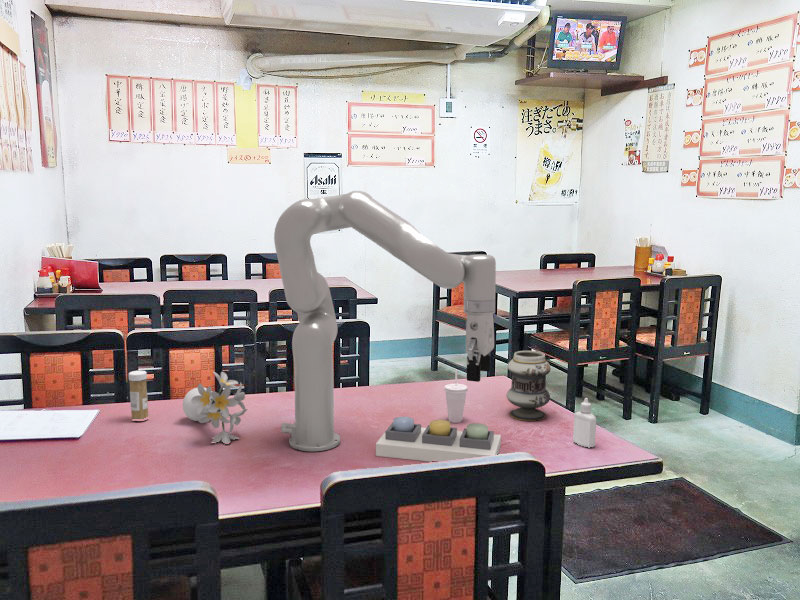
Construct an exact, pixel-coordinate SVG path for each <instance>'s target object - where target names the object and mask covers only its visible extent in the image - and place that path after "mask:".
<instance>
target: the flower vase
mask: <svg viewBox="0 0 800 600" xmlns="http://www.w3.org/2000/svg"><path fill="white" fill-rule="evenodd" d="M212 373H213V374H214V376H215V378H216V379H217V381H218V383H219V386H220V388H219V390H218V392H217V391H213V390H212V387H211V386H210V385H209V386H207V387H204V385H203V384H202V383H198V384H197V387H194V388H192V389H190V390H189V391H188V392H186V393H185V394H186V395H184V397H183V401H182V409H183V413H184V415H185V416H186V417H187V418H188V419H189V420H191V421H194V422H196V421H199V423H200V424H205V423H209V422H210V424H211V426H212V427H213V429H218V428H219V427H220V422H221V425H222V426H221V427H222V431H221V432H219V433H218V434H216V435H214V436H212V437H213V438H214V439H212V440H211V441H212V442H218V443H219V442H221V443H222V442H223V443H229V442H231V440H234V441H235V439H238V438H239V437H237V436H235V435H232V434H231V433H232V432H233V430H234V426H238V425H239V424H240V423H241V420H242V419H241V416H243V415H244V414H245V413H246V412H247V411H248V408H246V406H245V404H244V402H243V401H244V400H245V398H246V393H245V392H244V391H242V387H243V386H242V382H240V384H239V382H238V380H234V379H229V380H228V378H229V377H228V375H227V373H226V372H224V371H221V372H220V375H219V374H218V373H217V372H215V371H212ZM238 384H239V386H236V385H238ZM223 388H224V389H223ZM231 388H232V389H237V391H236V392H235V395H234V396H233V397H232V398H229V397H230V395H231V392H232V391H231ZM238 405H239V407H240V408H241V409H242V410H241V411H238V412H235V413H232V414H231V413H230V412H229V408H232V407H236V406H238ZM228 407H229V408H228ZM228 418H229V419H228ZM225 424H229V425H230V426H229V432H228V431H225V430H226V429H225ZM223 443H222V444H223Z"/></svg>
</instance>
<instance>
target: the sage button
mask: <svg viewBox="0 0 800 600" xmlns="http://www.w3.org/2000/svg"><path fill="white" fill-rule="evenodd" d="M466 429H467V435H466V436H467V438H470V439H480V440H485V439H487V438H488V431H489V430H488V429H489V427H488V426H487V424H483V423H479V422H478V423H476V422H474V423H469V424H467V425H466Z"/></svg>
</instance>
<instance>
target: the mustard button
mask: <svg viewBox="0 0 800 600" xmlns="http://www.w3.org/2000/svg"><path fill="white" fill-rule="evenodd" d="M429 425H430V430H429V433H430V434H431V435H440V436H448V435H450V427H451V422H449V420H444V419H435V420H431V421H430V422H429Z"/></svg>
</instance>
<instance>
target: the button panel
mask: <svg viewBox="0 0 800 600" xmlns="http://www.w3.org/2000/svg"><path fill="white" fill-rule="evenodd" d="M429 430H430V424H428V425H427V426H426V427H422V424H420V423H414V430H413V431H412V432H399V431H394V430H393V422H391V424H390V425H389V426H388V427H387V429H386V430H385V431H384V433H383V434H382V435H381V436H380V438H379V439H378V440H377V441H376V443H375V456H376V457H384V458H393V459H403V460H409V461H410V460H413V461H420V462H430V463H433V462H432V461H433V460H435V461H446V460H455V459H464V458H473V457H481V456H489V455H496V454H498V455H499V454H500V453H499V452H500V449H501V438H502V436H501V434H495V431H493V430H488V438H487V439H485V440H480V439H470V438H467V436H466V435H467V428H463V430H458V427H453V426H450V435H448V436H440V435H431V434H430V433H429Z"/></svg>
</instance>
